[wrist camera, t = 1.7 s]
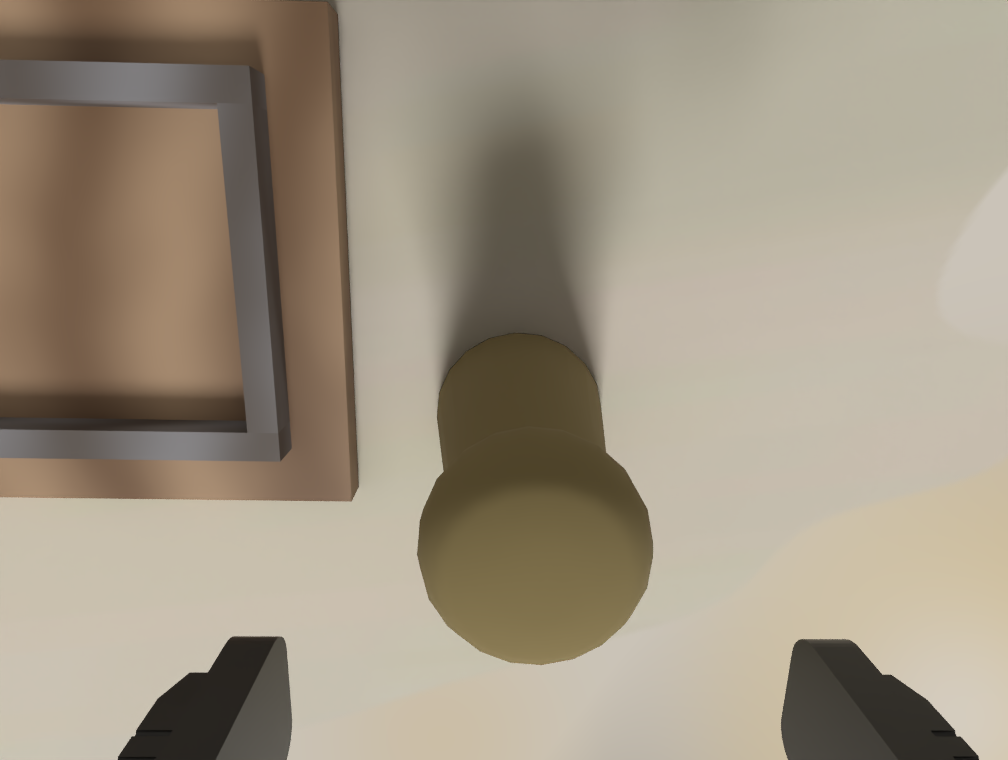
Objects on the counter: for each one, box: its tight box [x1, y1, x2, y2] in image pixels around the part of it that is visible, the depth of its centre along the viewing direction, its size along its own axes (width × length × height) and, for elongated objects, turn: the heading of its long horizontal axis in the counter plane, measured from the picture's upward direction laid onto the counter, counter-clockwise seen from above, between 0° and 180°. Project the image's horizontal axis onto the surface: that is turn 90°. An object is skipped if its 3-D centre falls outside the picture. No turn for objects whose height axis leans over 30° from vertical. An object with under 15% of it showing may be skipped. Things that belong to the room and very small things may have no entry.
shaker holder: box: [0, 0, 359, 501], centre depth 20 cm, size 16×16×2 cm
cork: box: [417, 333, 653, 665], centre depth 18 cm, size 6×6×11 cm
